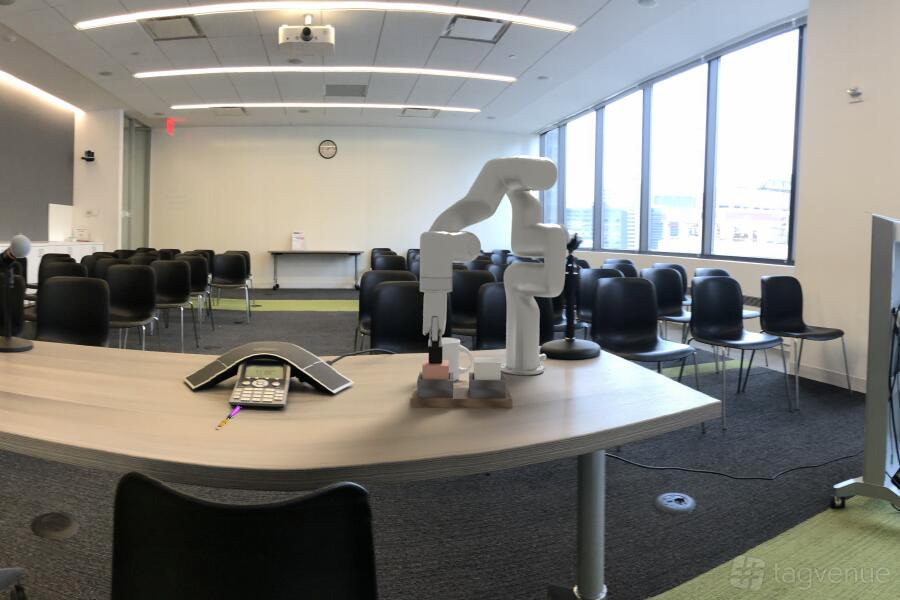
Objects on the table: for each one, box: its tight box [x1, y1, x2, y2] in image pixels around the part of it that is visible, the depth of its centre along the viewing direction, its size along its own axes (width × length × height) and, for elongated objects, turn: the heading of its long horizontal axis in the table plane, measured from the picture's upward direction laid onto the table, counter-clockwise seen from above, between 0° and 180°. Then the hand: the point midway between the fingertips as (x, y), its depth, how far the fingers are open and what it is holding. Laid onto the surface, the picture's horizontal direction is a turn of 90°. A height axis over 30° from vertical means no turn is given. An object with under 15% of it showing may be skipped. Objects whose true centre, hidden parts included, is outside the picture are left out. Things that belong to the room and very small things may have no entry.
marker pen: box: [217, 405, 242, 427], centre depth 122 cm, size 3×1×16 cm
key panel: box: [410, 371, 513, 409], centre depth 134 cm, size 23×10×6 cm, turn 89°
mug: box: [442, 337, 473, 382], centre depth 156 cm, size 9×12×11 cm
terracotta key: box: [421, 359, 449, 380], centre depth 134 cm, size 6×6×6 cm
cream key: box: [473, 356, 502, 380], centre depth 134 cm, size 6×6×6 cm
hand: (435, 362), depth 134 cm, fingers closed
